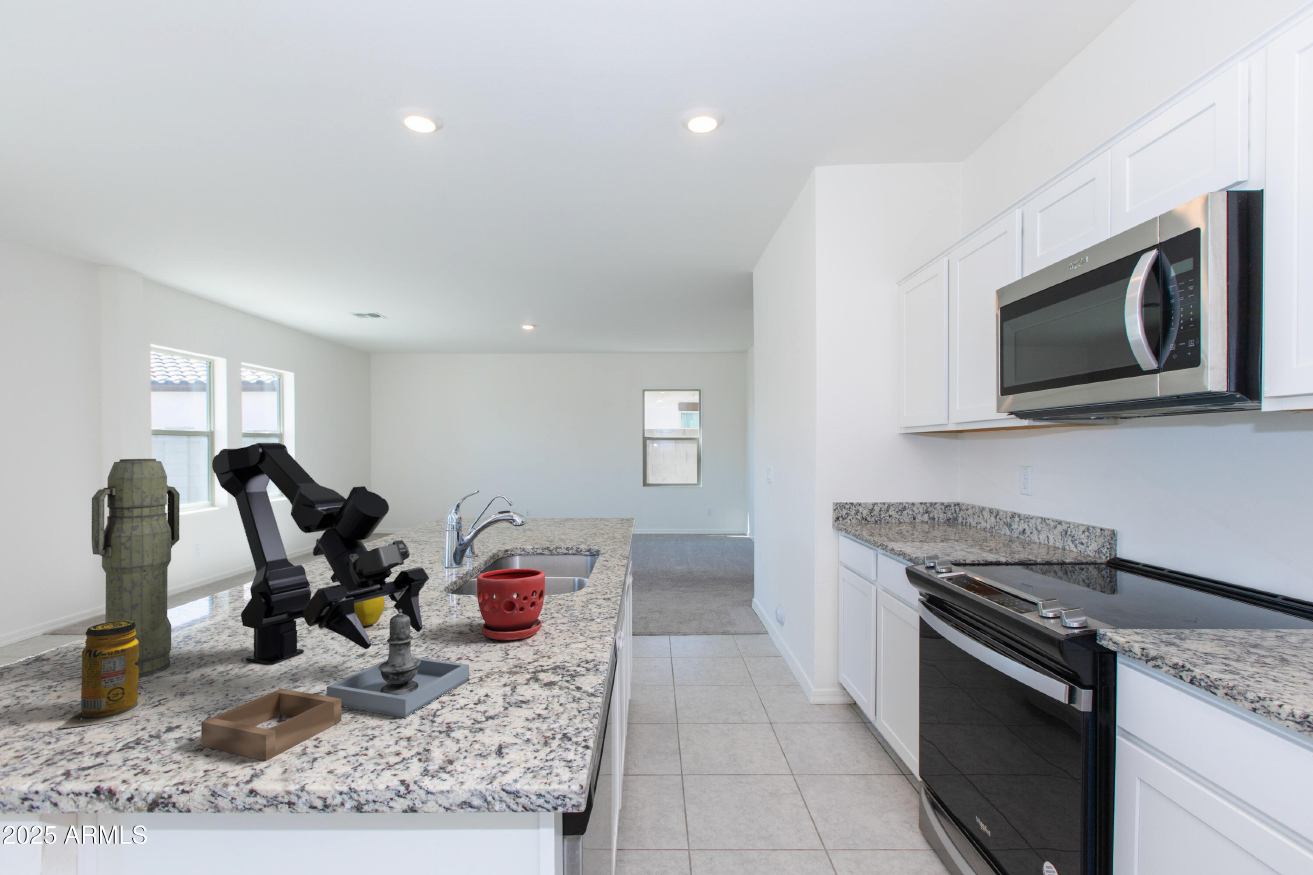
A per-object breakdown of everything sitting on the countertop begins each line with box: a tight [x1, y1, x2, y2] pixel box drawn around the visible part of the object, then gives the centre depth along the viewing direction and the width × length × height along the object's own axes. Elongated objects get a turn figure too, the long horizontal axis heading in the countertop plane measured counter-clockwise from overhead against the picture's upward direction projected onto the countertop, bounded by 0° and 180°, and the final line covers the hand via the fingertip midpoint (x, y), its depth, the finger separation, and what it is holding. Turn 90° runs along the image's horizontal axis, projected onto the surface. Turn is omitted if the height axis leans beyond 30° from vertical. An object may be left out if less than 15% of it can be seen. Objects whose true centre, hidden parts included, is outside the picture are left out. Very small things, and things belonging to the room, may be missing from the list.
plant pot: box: [476, 568, 546, 641], centre depth 121 cm, size 13×13×12 cm
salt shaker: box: [379, 609, 421, 695], centre depth 92 cm, size 6×6×12 cm
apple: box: [354, 596, 386, 627], centre depth 126 cm, size 6×6×8 cm
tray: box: [326, 656, 470, 718], centre depth 92 cm, size 14×14×2 cm
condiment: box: [59, 620, 150, 729], centre depth 85 cm, size 7×8×12 cm
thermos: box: [91, 458, 181, 678], centre depth 102 cm, size 9×12×35 cm
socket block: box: [200, 688, 342, 762], centre depth 79 cm, size 11×11×3 cm
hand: (395, 638), depth 93 cm, fingers open, 9 cm apart
